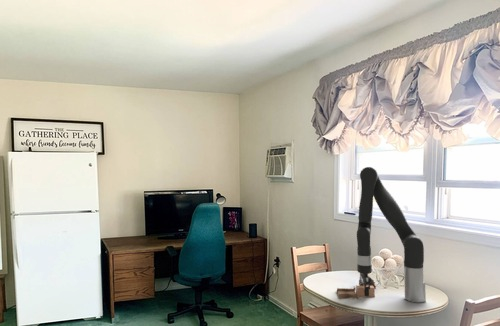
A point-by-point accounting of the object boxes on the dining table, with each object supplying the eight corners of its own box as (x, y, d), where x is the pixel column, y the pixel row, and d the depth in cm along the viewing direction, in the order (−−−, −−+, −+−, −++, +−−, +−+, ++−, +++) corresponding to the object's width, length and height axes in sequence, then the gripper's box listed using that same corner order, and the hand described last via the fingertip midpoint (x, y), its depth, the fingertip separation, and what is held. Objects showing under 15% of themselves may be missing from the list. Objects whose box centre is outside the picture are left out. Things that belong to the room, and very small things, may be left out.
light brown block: (373, 294, 194) (372, 285, 194) (374, 297, 191) (374, 287, 191) (356, 294, 195) (356, 285, 196) (357, 296, 192) (357, 287, 192)
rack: (354, 292, 199) (354, 288, 199) (357, 298, 189) (357, 294, 189) (336, 291, 200) (336, 288, 200) (339, 298, 190) (339, 294, 190)
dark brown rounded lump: (380, 291, 201) (377, 280, 198) (367, 299, 199) (363, 289, 197) (367, 279, 212) (363, 269, 209) (354, 288, 210) (350, 277, 208)
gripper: (374, 267, 186) (375, 298, 186) (368, 259, 200) (369, 288, 200) (359, 266, 187) (360, 297, 187) (354, 259, 201) (355, 288, 201)
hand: (365, 293), depth 193 cm, fingers open, 8 cm apart
